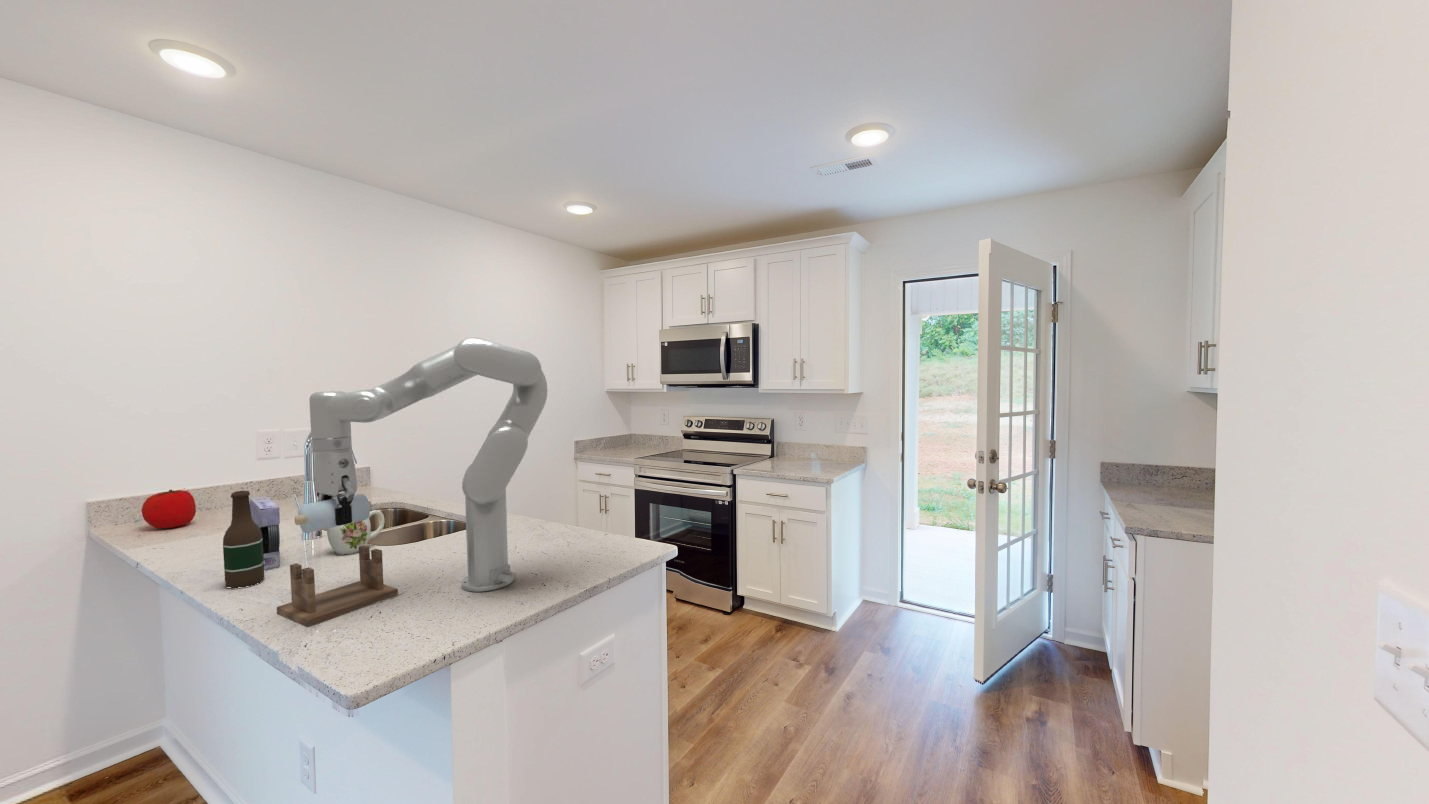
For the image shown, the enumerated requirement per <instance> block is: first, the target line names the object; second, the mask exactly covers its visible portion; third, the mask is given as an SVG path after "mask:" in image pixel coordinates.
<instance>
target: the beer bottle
mask: <svg viewBox="0 0 1429 804" xmlns="http://www.w3.org/2000/svg"><path fill="white" fill-rule="evenodd" d="M250 495H251V493H250V491H249V490H236V491H234V492H232V493H231V495H230V498H232V500H231V501H232V502H231V503H232V504H231V505H232V507H231V520H230V524H229V527H228V528H227V529H226V531H225V533H224V536H223V538H222V539H223V540H222V549H223V550H222V552H223V553H222V554H223V555H222V556H223V569H224V583H225V588H227V587H231V588H238V587H246V586H250V587H252V586H251V585H253V586H255V584H256V585H258V584H257V583H259V584H261V583H262V582H263V581H264V579H265V571H264V554H263V538H262V531H261V530H260V528H259V526H258V525H257V524H256V523H255V522H254V521H253V519H252V516H251V509H250ZM262 580H263V581H262ZM261 581H262V582H261ZM260 582H261V583H260ZM246 588H247V587H246Z"/></svg>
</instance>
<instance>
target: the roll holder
mask: <svg viewBox="0 0 1429 804" xmlns="http://www.w3.org/2000/svg"><path fill="white" fill-rule="evenodd" d="M358 558H359V560H358V564H359V581H358V580H357V581H355V582H352V583H350V584H345V585H342V586H339V587H335V588H333V589H329V590H326V591H322V592H320V593H316V584H315V569H314V568H312V567H306V568H303V566H302V564H299V563H293V564H289V572H290V593H291V602H289V603H286V604H285V603H284V604H282V605H279V606H278V605H277V606H276V614H277V615H280V616H282V617H284V618H287V619H289V620H290V621H293V622H296V623H298V624H300V625H303V626H305V627H307V628H309V627H312V626H315V625H317V624H321V623H324V622H326V621H329V620H332V619H335V618H337V617H340V615H341V616H343V615H345V614H349V613H351V611H352V612H354V610H355V611H358V610H360V609H362V607H363V608H365V606H366V607H368V606H367V605H369V606H371V605H373V603H374V604H377V603H379V602H378V601H380V602H383V601H384V599H385V600H387V598H388V599H390V597H391V598H394V597H396V595H397V596H399V589H398V587H394V586H390V585H387V584H384V567H383V550H382V549H380V548H374V549H370V546H367V545H366V546H360V547H359V552H358ZM393 596H394V597H393ZM382 600H383V601H382ZM376 602H377V603H376ZM370 604H371V605H370Z"/></svg>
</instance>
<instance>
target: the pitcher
mask: <svg viewBox="0 0 1429 804" xmlns="http://www.w3.org/2000/svg"><path fill="white" fill-rule="evenodd" d="M373 515H377V516H378V518H379V526H378V527H377V529H375V530H374V532H372V533H371V531H372V530H371V527H372V525H371V521H370V517H372V516H373ZM384 526H385V516H384V513H383V512H382V511H381V510H378V509H373V510H370V514H369V517H368V518H367V519H366V520H363V521H359V522H354V523H350V524H345V525H341V526H337V527H332V528H328V529H326V533H327V539H328V542H329V543H328V544H329V545H330V547H331V549H332V550H333V551H334V552H335V553H336V554H337V555H339V554H340V555H343V556H345V555H344V554H347V555H352V553H353V554H356V553H359V547H360V546H367V545H368V541H370V540H371V539H374V538H376V537H377V536H378V535H379V534H380V533H381V532H382V531H383V530H384Z"/></svg>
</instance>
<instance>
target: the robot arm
mask: <svg viewBox="0 0 1429 804" xmlns="http://www.w3.org/2000/svg"><path fill="white" fill-rule="evenodd" d="M541 364H542V363H541V362H540V360H539V359H538V357H537V356H536V355H535V354H533V353H531V352H529V351H525V350H522V349H519V348H514V347H511V346H507V345H502V344H500V343H496V342H493V341H489V340H486V339H483V338H480V337H467V338H465V339H462V340H461V341H460V342H458V344H457V345H455V346H452V347H451V348H448V349H446V350H444V351H442V352H440V353H437V354H435V355H433V356H430V357H428V358H426V359H424V360H423V359H422V360H421V361H419V362H417V363H416V364H414V365H413V366H412V367H411V368H410V369H409V370H408V371H405V372H404V373H402V374H401V375H400V376H398V377H397V376H396V377H395V378H393V379H391V380H389V381H387V382H385V383H382V384H380V385H378V386H375V387H373V388H370V389H363V390H355V391H349V392H347V391H345V392H344V391H318V392H313V393H312V394H310V396H309V401H308V402H309V418H310V421H309V422H310V423H309V424H310V439H311V453H312V454H314V456H313V457H314V458H313V486H314V487H313V488H314V490H315V492H316V496H317V497H318V499H317V502H319V501H325V500H330V499H335V502H336V506H337V508H335V521H336V525H337V526H340V525H344V524H349V523H351V522H352V508H351V506H352V500H353V497H354V495H356V492H357V491H358V482H357V481H358V480H357V471H356V464H355V459H354V455H353V451H352V450H353V445H352V444H353V442H352V427H351V426H352V424H351V422H353V423H361V424H363V423H365V424H366V423H368V424H369V423H373V422H376V421H378V420H381V419H384V418H386V417H388V416H391V415H393V414H395V413H397V412H399V411H401V410H403V409H405V408H407V407H409V406H411V405H414V404H416V403H418V402H420V401H422V400H424V399H428V398H431V397H434V396H436V395H438V394H441V393H442V392H444V391H446V390H448V389H451V388H452V387H454V386H457V385H459V384H460V383H461V384H462V383H463V382H465V381H467V380H469V379H471V378H473V377H475V376H476V377H477V376H481V377H484V378H487V379H491V380H496V381H500V382H504V383H508V384H511V385H512V387H513V388H512V394H511V396H510V398H509V399H508V401H507V404H506V405H505V406H504V409H503V411H502V412H501V415H499V418H498V419H497V421H496V423H495V424H494V425H493V426H492V427H491V429H490V430H489V431H488V433H487V436H486V438H485V440H484V441H483V443H482V445H481V446H480V449H479V450H478V453H477V454H476V456H475V457H474V459H473V461H472V462H471V464H470V465H468V467H467V469H466V470H465V472H464V475H463V478H462V482H461V487H462V488H461V489H462V492H463V495H464V496H465V497H464V498H465V501H464V502H465V533H466V559H467V560H466V561H467V576H466V577H464V578H463V579H462V580H461V584H460V585H461V586H460V587H461V588H462V590H465V591H467V592H475V593H476V592H477V593H478V592H488V591H489V592H491V591H494V590H499V589H501V588H504V587H505V588H506V587H507V586H509V585H511V584H512V583H513V582H514V581H515V579H516V576H517V572H514V571H511V564H509V552H508V551H509V550H508V522H507V521H508V515H507V512H508V511H507V487H508V485H509V484H510V482H511V480H512V478H513V476H514V475H515V474H516V471H517V469H518V468H519V466H520V464H521V462H522V461H523V459H524V456H525V455H526V452H527V449H528V446H529V440H528V439H529V437H530V435H531V432H532V431H533V429H534V428H535V426H536V424H537V421H538V419H539V418H540V416H541V414H542V412H543V410H544V408H545V405H546V401H547V398H548V382H547V378H546V375H545V374H544V371H543V370H542V365H541ZM341 492H342V493H341ZM341 497H343V498H342V500H340V498H341Z"/></svg>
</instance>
